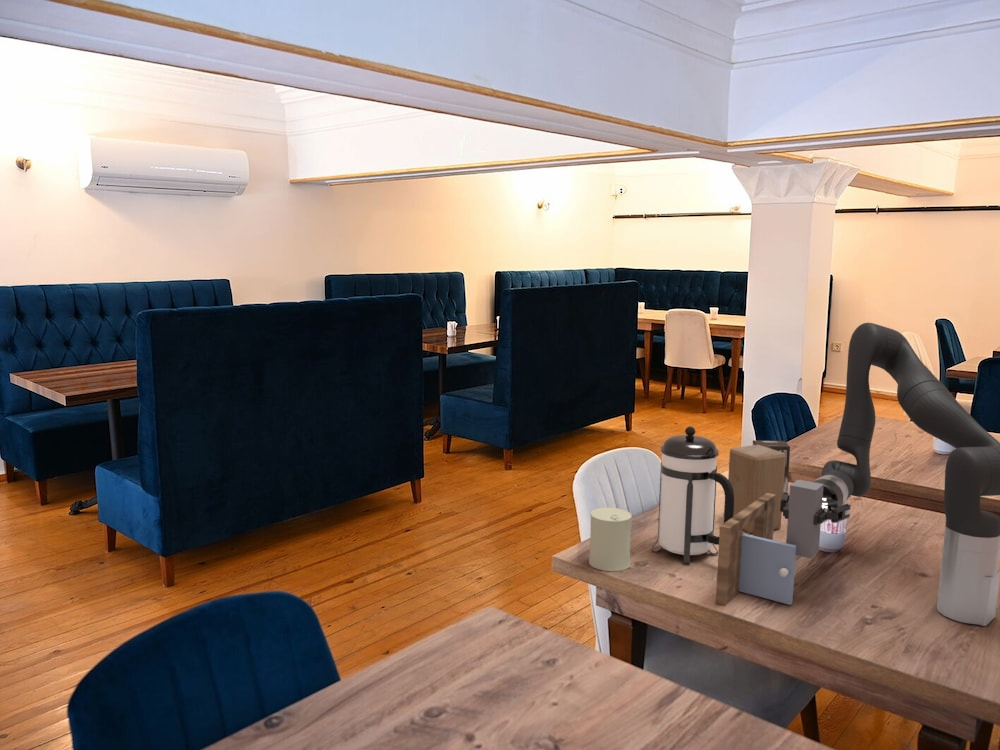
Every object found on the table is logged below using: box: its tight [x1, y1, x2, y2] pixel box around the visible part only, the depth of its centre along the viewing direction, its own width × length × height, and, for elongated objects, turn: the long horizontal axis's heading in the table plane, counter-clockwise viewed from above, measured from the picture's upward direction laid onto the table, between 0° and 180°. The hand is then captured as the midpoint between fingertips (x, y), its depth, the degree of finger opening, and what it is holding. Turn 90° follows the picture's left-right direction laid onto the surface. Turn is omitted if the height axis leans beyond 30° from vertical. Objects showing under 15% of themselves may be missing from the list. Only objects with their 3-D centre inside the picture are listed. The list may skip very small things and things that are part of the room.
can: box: [588, 507, 633, 573], centre depth 176 cm, size 9×9×12 cm
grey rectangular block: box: [785, 479, 824, 559], centre depth 158 cm, size 5×5×14 cm
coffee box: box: [752, 440, 791, 493], centre depth 223 cm, size 9×6×16 cm
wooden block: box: [727, 444, 786, 535], centre depth 200 cm, size 10×10×20 cm
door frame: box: [715, 493, 776, 606], centre depth 166 cm, size 27×2×16 cm, turn 143°
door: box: [739, 532, 797, 606], centre depth 159 cm, size 12×2×12 cm, turn 53°
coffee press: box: [651, 426, 734, 565], centre depth 180 cm, size 17×16×30 cm
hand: (801, 517), depth 155 cm, fingers closed on grey rectangular block, 5 cm apart
